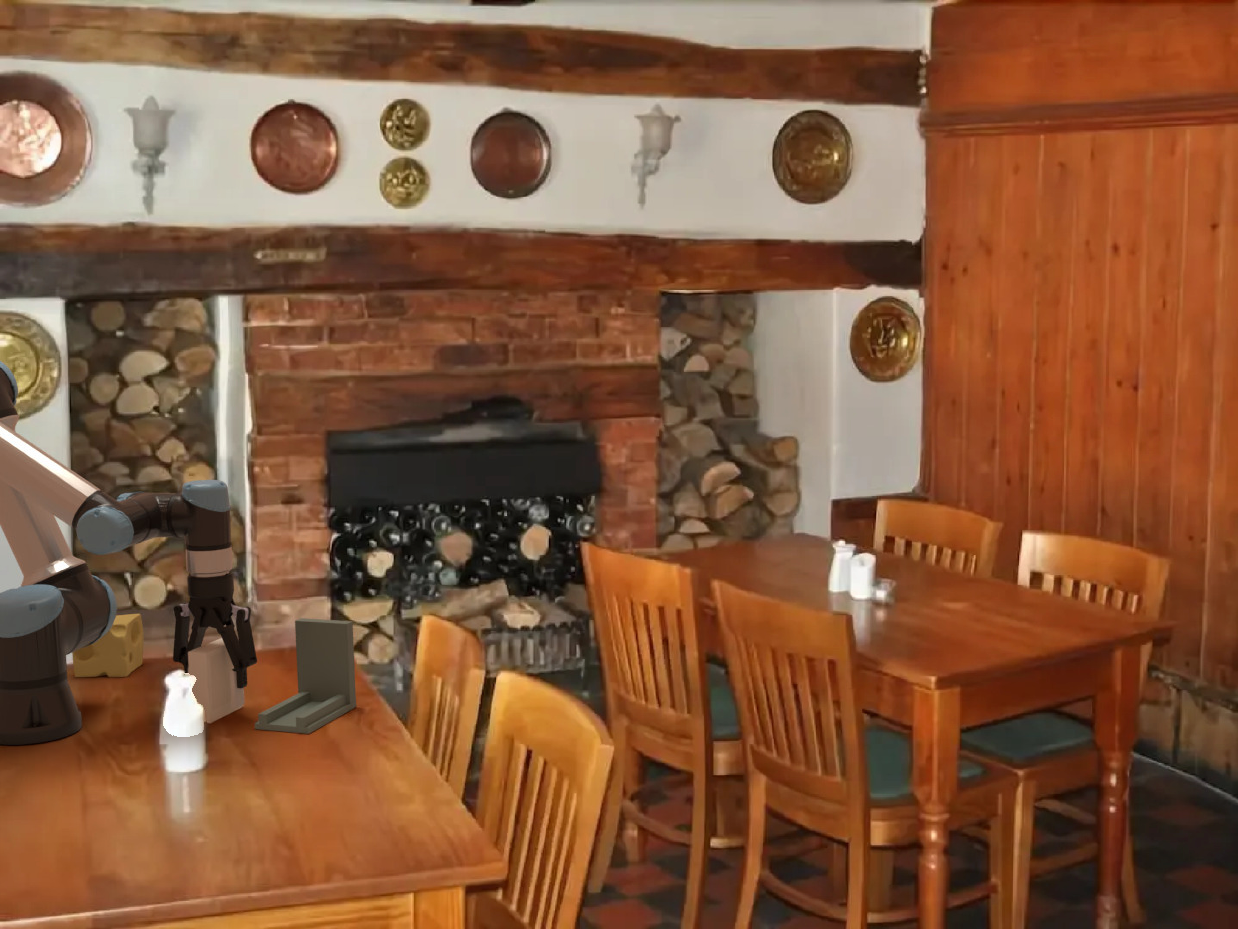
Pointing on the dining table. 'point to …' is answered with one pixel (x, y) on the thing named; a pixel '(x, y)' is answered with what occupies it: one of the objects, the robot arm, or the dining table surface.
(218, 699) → the door
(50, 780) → the dining table surface
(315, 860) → the dining table surface
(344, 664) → the track
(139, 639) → the cheese
